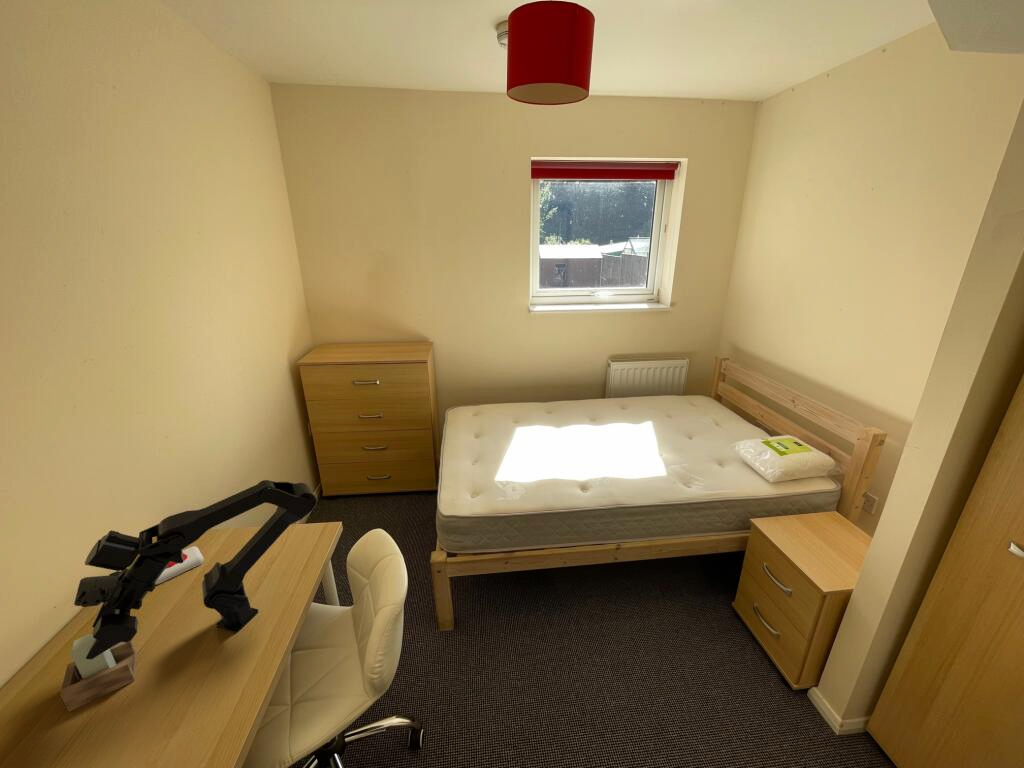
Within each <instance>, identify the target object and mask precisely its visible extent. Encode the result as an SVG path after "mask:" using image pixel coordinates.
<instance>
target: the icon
mask: <svg viewBox="0 0 1024 768" xmlns="http://www.w3.org/2000/svg"><path fill="white" fill-rule="evenodd" d="M182 552H183V563H176V562H170V563H169V565H168V566H167V567H166V569H165V570H164V571H163V573H162V574H161V575H160V577H159V578H158V579H157V581H156V582H155V586H158V585H160V584H163V583H164V582H166V581H168V580H170V579H172V578H174V577H177V576H179V575H181V574H183V573H186V572H187V571H190V570H193V568H196V567H199V566H201V565H202V564H203V563H204V561H205V558H204V556H203V554H202V553H201V551H200V549H199V547H197V546H191V547H188V548H185V549H182Z"/></svg>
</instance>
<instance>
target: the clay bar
mask: <svg viewBox="0 0 1024 768" xmlns="http://www.w3.org/2000/svg"><path fill="white" fill-rule="evenodd" d="M94 641H95V638H93V632H91V633H89V634H86V635H84V636H82V637H79V638H77V639H75V640H74V641H73V645H72V648H71V653H70V656H71V658H72V659H73V662H75V664H76V666H77V668H78V670H79V672H80V674H81V676H82V678H83V680H84V679H87V678H89V677H91V676H93V675H95V674H98V673H100V672H102V671H104V670H106V669H109V668H111V667H113V666H115V665H116V662H115V660H114V658H113V655H112V653H111V651H110V649H108V650H106V651H105V652H103V653H101V654H100V655H98V656H97V657H95V658H93V659H86V656H87V654H88V652H89V650H90V648H91V646H92V644H93V643H94Z"/></svg>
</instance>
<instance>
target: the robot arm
mask: <svg viewBox="0 0 1024 768" xmlns="http://www.w3.org/2000/svg"><path fill="white" fill-rule="evenodd" d="M264 503H265V504H271V505H274V506H277V508H276V511H275V512H274V513H273V515H271V516H270V518H269V519H268V520H267V521H266V522H264V524H263V525H262V526H261V527H260V528H259V529H258V530H257V532H256V533H255V534H254V535H253V536H252V537H251V538H250V539H249V540H248V541H247V542H246V544H244V545H243V546H242V548H241V549H240V550H239V551H238V552H237V553H236V554H235V555H234V556H233V557H232V558H231V559H230V560H229V561H227V562H224V563H223V564H222V563H220V562H218V561H217V562H216V563H214V565H213V566H212V568H211V569H210V570H209V571H208V572H207V573H205V574H204V575H203V580H202V584H201V587H202V588H201V589H202V600H203V601H202V602H203V605H204V607H205V608H207V609H210V610H211V609H212V610H215V611H216V612H217V613H218V614H219V615H220V618H221V619H220V621H218V622H217V624H216V627H217V628H220V629H222V630H225V631H229V632H232V633H235V634H236V633H238V632H239V631H240V630H241V629H242V628H244V627H245V626H246V624H248V623H249V622H250V621H251V619H252V618H254V617H255V616H256V615H257V614H258V613H259V609H257V608H254V607H251V604H250V601H249V597H248V596H247V593H246V590H245V585H244V582H243V581H244V579H245V577H246V575H247V573H248V572H249V571H250V569H252V568H253V567H254V565H255V564H256V563H257V562H258V561H259V560H260V559H261V558H262V556H263V555H264V554H265V553H267V551H268V550H269V549H270V548H271V546H273V544H275V542H276V541H277V540H278V539H279V538H280V537H281V535H283V533H284V532H285V531H286V530H288V528H289V527H290V526H291V525H292V524H294V523H296V522H299V521H301V520H303V519H304V518H305V517H306V516H308V515H309V514H310V513H311V512H312V511H313V510H314V509H315V508H316V506H317V497H316V495H315V494H314V491H313V490H312V489H311V487H310V485H309V484H308V483H305V482H296V483H295V482H294V483H293V482H289V481H273V480H269V479H264V480H261V481H259V482H258V483H257V484H255V485H253V486H251V487H249V488H246V489H244V490H242V491H239V492H237V493H235V494H233V495H231V496H228V497H226V498H224V499H221V500H219V501H217V502H215V503H212V504H210V505H208V506H206V507H203V508H200V509H195V510H193V509H192V510H186V511H185V510H184V511H183V512H182V511H181V512H179V513H175V514H172V515H169V516H166V518H165V517H164V518H163V519H162V520H161V521H159V523H158V524H155V525H153V526H150V527H149V528H148V527H147V528H146V529H144V530H141V531H139V533H138V537H137V536H132V535H128V534H123V533H121V532H119V531H115V530H109V531H108V533H107V534H105V535H103V536H102V537H101V538H100V539H98V540H97V542H96V543H95V544H94V546H92V548H91V550H90V551H89V553H88V555H87V557H86V559H85V561H84V565H85V566H89V567H96V568H99V569H100V568H101V569H106V570H110V571H111V570H112V571H114V572H111V573H109V574H108V575H99V576H87V577H82V578H81V579H80V580H79V584H78V588H77V590H76V591H77V592H76V595H75V599H74V602H73V605H74V606H75V607H82V608H90V607H97V606H99V605H101V606H100V608H99V610H98V612H97V614H96V617H95V619H94V621H93V623H92V628H93V631H92V633H93V638H95V641H94V643H93V644H92V646H91V648H90V650H89V652H88V654H87V656H86V659H93V658H95V657H97V656H98V655H100V654H101V653H103V652H105V651H106V650H108V649H109V648H111V647H113V646H115V645H116V644H118V643H120V642H129V641H132V639H134V637H135V636H136V635H137V633H138V627H139V625H138V624H139V620H138V617H137V616H135V615H131V610H137V611H138V610H140V609H141V607H142V606H143V600H144V598H145V597H146V596H147V594H148V593H149V592H150V593H152V592H153V591H154V590H155V588H156V585H155V582H156V581H157V579H158V578H159V577H160V575H161V574H162V573H163V571H164V570H165V569H166V567H167V566H168V565H169V563H170V562H176V563H183V552H182V551H183V550H185V549H186V548H187V547H188V546H190V545H191V544H193V543H195V542H197V541H198V540H200V538H201V537H202V536H203V535H205V534H206V532H208V531H209V530H211V529H212V528H214V527H216V526H218V525H221V524H223V523H225V522H227V521H230V520H231V519H234V518H235V517H238V516H239V515H243V514H244V513H247V512H248V511H251V510H252V509H255V508H257V507H259V506H261V505H263V504H264ZM154 538H156V541H154V542H153V539H154Z"/></svg>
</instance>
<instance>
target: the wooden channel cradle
mask: <svg viewBox="0 0 1024 768" xmlns="http://www.w3.org/2000/svg"><path fill="white" fill-rule="evenodd" d="M134 646H135V645H134V644H133V641H132V640H131V641H129V642H120V643H118V644H116V645H115V646H113V647H111V648H109V649H110V651H111V653H112V655H113V658H114V660H115V662H116V665H115V666H113V667H111V668H109V669H106V670H104V671H102V672H100V673H98V674H95V675H93V676H91V677H89V678H87V679H84V680H83V678H82V676H81V674H80V672H79V670H78V668H77V666H76V664H75V662H74V661H72V662H71V663H68V664H67V665H66V670H65V674H64V677H63V682H62V686H61V690H60V694H59V695H60V697H61V700H62V701H63V703H64V705H65V707H66V709H67V710H68V712H69V713H70V712H72V711H74V710H76V709H78V708H80V707H83V706H84V705H86V704H89V703H91V702H93V701H95V700H97V699H99V698H101V697H103V696H106V695H108V694H109V693H112V692H114V691H116V690H118V689H121V688H122V687H124V686H126V685H128V684H131V683H134V681H135V678H136V677H135V676H136V668H137V666H136V665H137V651H136V649H135V647H134Z"/></svg>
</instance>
